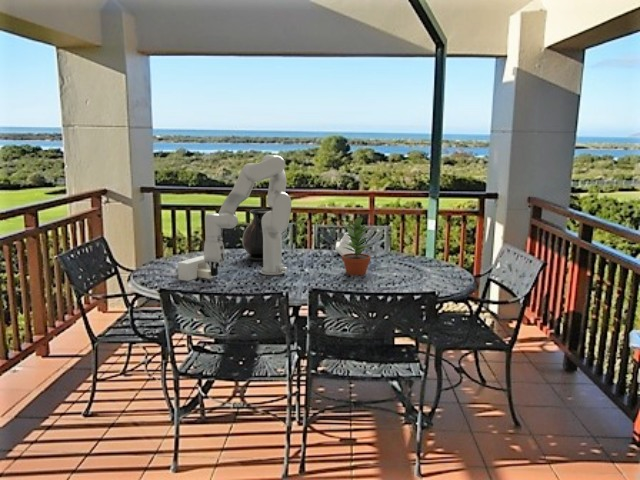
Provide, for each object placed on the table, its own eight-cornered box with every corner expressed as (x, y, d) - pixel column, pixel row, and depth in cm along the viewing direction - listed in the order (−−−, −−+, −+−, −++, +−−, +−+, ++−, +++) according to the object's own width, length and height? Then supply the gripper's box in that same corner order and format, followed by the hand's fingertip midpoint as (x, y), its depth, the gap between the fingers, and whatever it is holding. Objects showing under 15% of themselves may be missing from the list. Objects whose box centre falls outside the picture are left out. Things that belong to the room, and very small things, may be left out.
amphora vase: (275, 263, 297) (275, 213, 292) (237, 262, 300) (236, 212, 295) (283, 255, 318) (283, 208, 312) (248, 253, 321) (248, 207, 316)
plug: (215, 276, 268) (215, 265, 267) (207, 279, 264) (207, 267, 262) (186, 271, 278) (186, 260, 277) (178, 273, 273) (178, 262, 272)
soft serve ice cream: (354, 254, 332) (360, 232, 327) (352, 261, 317) (358, 239, 313) (334, 248, 332) (341, 226, 328) (331, 255, 318) (338, 233, 314)
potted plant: (362, 268, 289) (363, 212, 284) (374, 275, 275) (376, 217, 270) (336, 270, 284) (337, 214, 278) (348, 277, 270) (349, 218, 264)
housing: (214, 272, 277) (214, 256, 276) (188, 280, 260) (187, 263, 259) (205, 270, 280) (205, 254, 279) (178, 279, 263) (178, 262, 261)
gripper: (230, 239, 261) (231, 275, 264) (206, 236, 268) (207, 271, 271) (220, 241, 254) (221, 279, 258) (196, 238, 261) (197, 275, 265)
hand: (214, 275), depth 265 cm, fingers closed
